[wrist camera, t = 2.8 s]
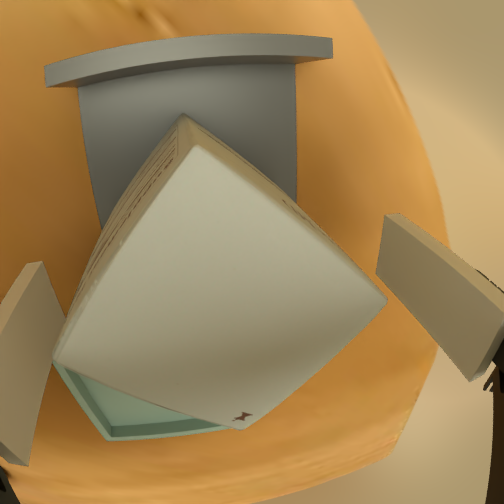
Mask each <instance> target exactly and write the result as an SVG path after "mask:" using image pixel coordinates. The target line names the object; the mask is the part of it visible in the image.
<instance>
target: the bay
mask: <svg viewBox="0 0 504 504" xmlns="http://www.w3.org/2000/svg"><path fill="white" fill-rule="evenodd" d="M331 58H333V44H332V38H326V37H316V36H304V35H288V34H216V35H200V36H188V37H178V38H170V39H162V40H154V41H148V42H141V43H135V44H130V45H124V46H119V47H114V48H109V49H105V50H100V51H96V52H92V53H88V54H84V55H80V56H76V57H72V58H69V59H65V60H62V61H59V62H55V63H52V64H49V65H46V66H44V69H45V83H46V87H78V96H79V106H80V114H81V122H82V130H83V137H84V143H85V150H86V156H87V162H88V167H89V173H90V178H91V183H92V188H93V193H94V198H95V203H96V207H97V212H98V216H99V220H100V224H101V229H102V230H103V228H104V226H105V224H106V223H107V221H108V219H109V217H110V215H111V213H112V211H113V209H114V208H115V206H116V204H117V203H118V201H119V199H120V198H121V196H122V195H123V193H124V192H125V190H126V189H127V187H128V185H129V184H130V183H131V181H132V179H133V178H134V176H135V175H136V174H137V172H138V171H139V169H140V168H141V166H142V165H143V164H144V162H145V161H146V159H147V158H148V157H149V155H150V154H151V153H152V151H153V150H154V149H155V147H156V146H157V145H158V143H159V142H160V141H161V139H162V138H163V137H164V135H165V134H166V133H167V131H168V130H169V129H170V128H171V126H172V125H173V124H174V122H175V121H176V120H177V119H178V117H179V116H180V115H181V114H182V113H185V114H186V115H188V116H189V117H190V118H192V119H193V120H194V121H195V122H197V123H198V124H200V125H201V126H202V127H204V128H205V129H206V130H208V131H209V132H210V133H212V134H213V135H214V136H216V137H217V138H218V139H220V140H221V141H222V142H224V143H225V144H226V145H228V146H229V147H230V148H232V149H233V150H234V151H235V152H237V153H238V154H239V155H240V156H242V157H243V158H244V159H246V160H247V161H248V162H249V163H251V164H252V165H253V166H254V167H256V168H257V169H258V170H259V171H260V172H262V173H263V174H264V175H265V176H266V177H268V178H269V179H270V180H271V181H272V182H274V183H275V184H276V185H277V186H278V187H279V188H280V189H281V190H282V191H284V192H285V193H286V194H287V195H288V196H289V197H290V198H291V199H292V200H293V201H294V202H295V203H296V191H297V143H296V85H295V64H298V63H304V62H310V61H317V60H324V59H331Z"/></svg>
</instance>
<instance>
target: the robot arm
mask: <svg viewBox="0 0 504 504" xmlns="http://www.w3.org/2000/svg"><path fill="white" fill-rule="evenodd" d="M376 275H377V276H378V277H379V278H380V279H381V280H382V281H383V282H384V283H385V284H386V285H387V286H388V288H389V289H390V290H391V291H392V292H393V293H394V294H395V295H396V296H397V297H398V299H399V300H400V301H401V302H402V303H403V304H404V305H405V306H406V307H407V309H408V310H409V311H410V312H411V313H412V314H413V315H414V316H415V318H416V319H417V320H418V321H419V322H420V323H421V324H422V326H423V327H424V328H425V329H426V330H427V331H428V333H429V334H430V335H431V336H432V337H433V338H434V340H435V341H436V342H437V343H438V344H439V346H440V347H441V348H442V349H443V350H444V352H445V353H446V354H447V355H448V356H449V358H450V359H451V360H452V361H453V363H454V364H455V365H456V366H457V367H458V369H459V370H460V371H461V372H462V374H463V375H464V376H465V378H466V379H467V380H468V381H469V382H471V381H473V380H474V379H476V378H478V377H480V376H482V375H483V374H484V373H485V372H486V370H487V368H488V367H489V365H490V363H491V361H493V362H494V363H495V365H496V367H495V369H494V371H493V372H492V374H491V375H490V377H489V378H488V380H487V382H486V383H485V385H484V388H483V390H484V391H485V390H486V389H487V388H488V386H489V385H490V383H492V382H493V386H492V387H491V389H490V391H491V392H493V411H494V412H493V441H492V455H491V467H490V475H489V483H488V490H487V497H486V503H485V504H504V292H503V291H502V290H501V289H500V288H499V287H498V288H497V287H496V285H495V284H494V283H493V282H492V281H489V279H488V278H487V277H486V276H485V275H483V274H482V273H481V272H480V271H478V270H476V269H474V268H473V267H471V266H470V265H469V264H467V263H466V262H465V261H464V260H462V259H461V258H460V257H459V256H457V255H456V254H455V253H454V252H452V251H451V250H450V249H448V248H447V247H446V246H444V245H443V244H442V243H440V242H439V241H438V240H436V239H435V238H434V237H432V236H431V235H430V234H428V233H427V232H425V231H424V230H423V229H421V228H420V227H418V226H417V225H416V224H414V223H413V222H411V221H410V220H409V219H407V218H406V217H404V216H403V215H401V214H400V213H397V214H388V215H385V216H384V223H383V231H382V237H381V244H380V250H379V256H378V262H377V268H376ZM65 320H66V318H65V316H64V313H63V311H62V309H61V306H60V304H59V302H58V299H57V297H56V294H55V292H54V289H53V287H52V284H51V282H50V279H49V277H48V274H47V271H46V269H45V266H44V263H43V261H39V262H33V263H27V264H26V265H25V267H24V268H23V270H22V271H21V273H20V274H19V276H18V277H17V279H16V280H15V282H14V283H13V285H12V286H11V288H10V289H9V291H8V293H7V294H6V296H5V297H4V299H3V301H2V302H1V304H0V456H1V457H3V458H4V459H5V460H6V461H7V462H8V463H12V464H17V465H23V466H28V465H29V459H30V453H31V447H32V442H33V437H34V432H35V427H36V423H37V418H38V414H39V410H40V406H41V401H42V398H43V394H44V390H45V386H46V382H47V379H48V375H49V372H50V368H51V365H52V362H53V359H52V351H53V349H54V347H55V344H56V342H57V340H58V337H59V335H60V333H61V330H62V327H63V325H64V322H65ZM0 504H20V502H19V500H18V498H17V497H16V495H15V493H14V491H13V489H12V487H11V485H10V483H9V481H8V479H7V477H6V475H5V473H4V471H3V469H2V467H1V466H0Z"/></svg>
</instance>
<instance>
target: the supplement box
mask: <svg viewBox="0 0 504 504" xmlns="http://www.w3.org/2000/svg"><path fill="white" fill-rule="evenodd" d="M387 300H388V299H387V297H386V296H385V295H384V294H383V293H382V291H381V290H380V289H379V288H378V287H377V286H376V285H375V284H374V283H373V282H372V281H371V279H370V278H369V277H368V276H367V275H366V274H365V273H364V272H363V271H362V270H361V269H360V268H359V267H358V266H357V265H356V263H355V262H354V261H353V260H352V259H351V258H350V257H349V256H348V255H347V254H346V253H345V252H344V251H343V250H342V249H341V248H340V247H339V246H338V245H337V244H336V243H335V242H334V241H333V240H332V239H331V238H330V237H329V236H328V235H327V234H326V233H325V232H324V231H323V230H322V229H321V228H320V227H319V226H318V225H317V224H316V223H315V222H314V221H313V220H312V219H311V218H310V217H309V216H308V215H307V214H306V213H305V212H304V211H303V210H302V209H301V208H300V207H299V206H298V205H297V204H296V203H295V202H294V201H293V200H292V199H291V198H290V197H289V196H288V195H287V194H286V193H285V192H284V191H282V190H281V189H280V188H279V187H278V186H277V185H276V184H275V183H274V182H272V181H271V180H270V179H269V178H268V177H266V176H265V175H264V174H263V173H262V172H260V171H259V170H258V169H257V168H256V167H254V166H253V165H252V164H251V163H249V162H248V161H247V160H246V159H244V158H243V157H242V156H240V155H239V154H238V153H237V152H235V151H234V150H233V149H232V148H230V147H229V146H228V145H226V144H225V143H224V142H222V141H221V140H220V139H218V138H217V137H216V136H214V135H213V134H212V133H210V132H209V131H208V130H206V129H205V128H204V127H202V126H201V125H200V124H198V123H197V122H195V121H194V120H193V119H192V118H190V117H189V116H188V115H186V114H185V113H182V114H181V115H180V116H179V117H178V119H177V120H176V121H175V122H174V124H173V125H172V126H171V128H170V129H169V130H168V131H167V133H166V134H165V135H164V137H163V138H162V139H161V141H160V142H159V143H158V145H157V146H156V147H155V149H154V150H153V151H152V153H151V154H150V155H149V157H148V158H147V159H146V161H145V162H144V164H143V165H142V166H141V168H140V169H139V171H138V172H137V174H136V175H135V176H134V178H133V179H132V181H131V183H130V184H129V185H128V187H127V189H126V190H125V192H124V193H123V195H122V196H121V198H120V199H119V201H118V203H117V204H116V206H115V208H114V209H113V211H112V213H111V215H110V217H109V219H108V221H107V223H106V224H105V226H104V228H103V230H102V232H101V235H100V237H99V239H98V241H97V243H96V245H95V248H94V250H93V252H92V255H91V257H90V259H89V261H88V264H87V266H86V269H85V271H84V273H83V276H82V278H81V281H80V283H79V286H78V288H77V291H76V293H75V296H74V298H73V301H72V304H71V306H70V309H69V312H68V314H67V317H66V320H65V322H64V325H63V327H62V330H61V333H60V335H59V337H58V340H57V342H56V344H55V347H54V349H53V351H52V359H53V360H54V361H55V362H57V363H58V364H59V365H61V366H63V367H64V368H67V369H69V370H71V371H73V372H75V373H77V374H79V375H81V376H84V377H86V378H88V379H91V380H93V381H96V382H98V383H100V384H102V385H105V386H107V387H109V388H112V389H114V390H116V391H119V392H121V393H124V394H127V395H129V396H132V397H134V398H137V399H140V400H142V401H145V402H148V403H151V404H153V405H155V406H158V407H161V408H164V409H167V410H171V411H174V412H177V413H180V414H184V415H187V416H190V417H194V418H197V419H201V420H204V421H207V422H211V423H214V424H218V425H222V426H226V427H230V428H233V429H236V430H243V429H245V428H247V427H248V426H250V425H251V424H253V423H254V422H256V421H257V420H259V419H260V418H262V417H263V416H264V415H266V414H267V413H268V412H270V411H271V410H272V409H274V408H275V407H276V406H277V405H279V404H280V403H281V402H282V401H283V400H285V399H286V398H287V397H288V396H290V395H291V394H292V393H293V392H294V391H296V390H297V389H298V388H299V387H300V386H302V385H303V384H304V383H305V382H306V381H307V380H308V379H309V378H311V377H312V376H313V375H314V374H315V373H316V372H318V371H319V370H320V369H321V368H322V367H323V366H324V365H326V364H327V363H328V362H329V361H330V360H331V359H332V358H333V357H334V356H335V355H336V354H338V353H339V352H340V351H341V350H342V349H343V348H344V347H345V346H346V345H347V344H348V343H349V342H350V341H351V340H352V339H353V338H354V337H356V336H357V335H358V334H359V332H360V331H362V330H363V329H364V328H365V327H366V326H367V325H368V324H369V323H370V322H371V321H372V320H373V319H374V318H375V316H376V315H377V314H378V313H379V312H380V311H381V310H382V308H383V307H384V306H385V305H386V304H387Z"/></svg>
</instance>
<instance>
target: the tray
mask: <svg viewBox="0 0 504 504" xmlns="http://www.w3.org/2000/svg"><path fill="white" fill-rule="evenodd" d="M52 363H53V365H54V366H55V368H56V370H57V371H58V373H59V374H60V376H61V378H62V379H63V381H64V382H65V384H66V385H67V387H68V388H69V390H70V392H71V393H72V395H73V396H74V397H75V399H76V400H77V402H78V403H79V405H80V406H81V408H82V409H83V410H84V412H85V413H86V415H87V416H88V417H89V419H90V420H91V421H92V423H93V424H94V425H95V427H96V428H97V429H98V431H99V432H100V433H101V434H102V436H103V437H104V438H105V439H106V441H125V440H141V439H154V438H165V437H174V436H183V435H191V434H198V433H205V432H211V431H218V430H224V429H229V428H230V427H226V426H222V425H218V424H214V423H211V422H207V421H204V420H201V419H197V418H194V417H190V416H187V415H184V414H180V413H177V412H174V411H171V410H167V409H164V408H161V407H158V406H155V405H153V404H151V403H148V402H145V401H142V400H140V399H137V398H134V397H132V396H129V395H127V394H124V393H121V392H119V391H116V390H114V389H112V388H109V387H107V386H105V385H102V384H100V383H98V382H96V381H93V380H91V379H88V378H86V377H84V376H81V375H79V374H77V373H75V372H73V371H71V370H69V369H67V368H64V367H63V366H61V365H59V364H58V363H57V362H55V361H54V360H53V362H52Z"/></svg>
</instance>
